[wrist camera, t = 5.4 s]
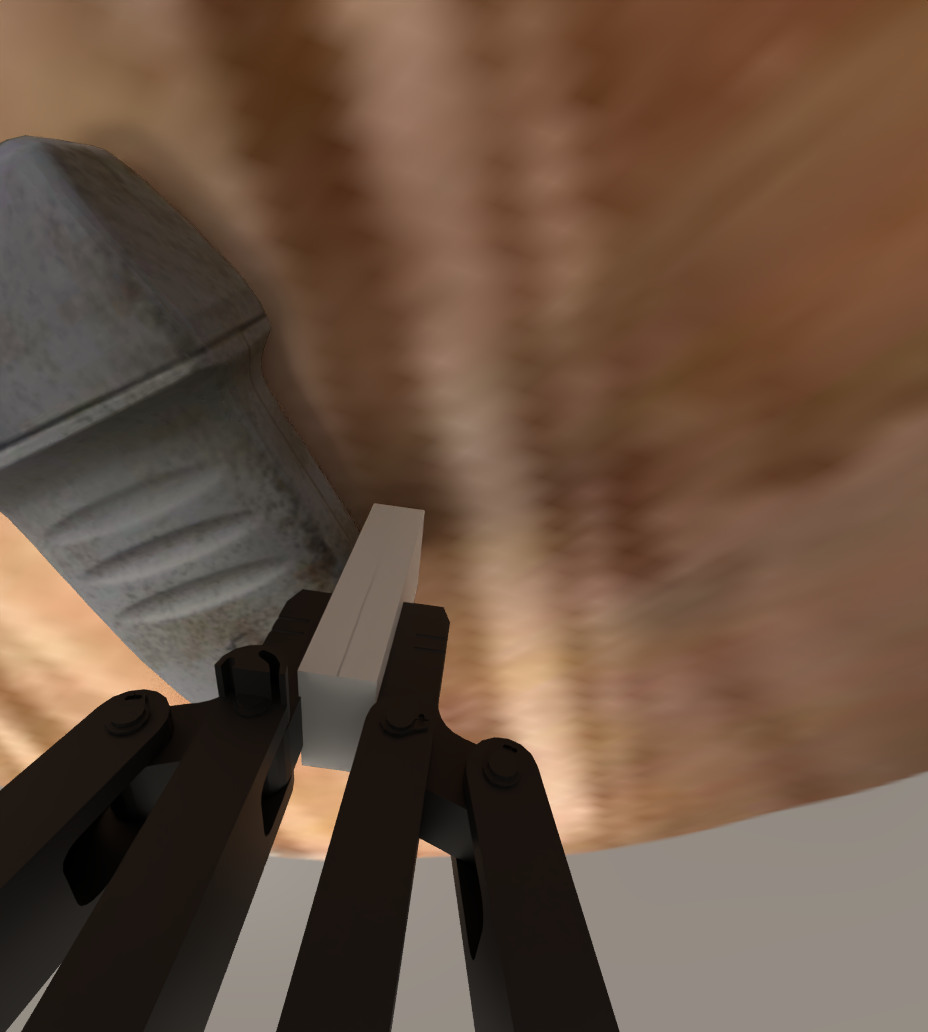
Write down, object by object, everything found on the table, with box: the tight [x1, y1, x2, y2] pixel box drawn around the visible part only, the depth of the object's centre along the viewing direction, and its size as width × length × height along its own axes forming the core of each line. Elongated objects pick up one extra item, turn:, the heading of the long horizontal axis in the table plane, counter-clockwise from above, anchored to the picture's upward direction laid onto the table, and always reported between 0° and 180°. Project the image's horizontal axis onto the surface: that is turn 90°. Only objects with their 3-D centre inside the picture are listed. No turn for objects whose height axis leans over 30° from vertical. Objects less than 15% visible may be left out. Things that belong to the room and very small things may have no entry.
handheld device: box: [0, 135, 360, 703], centre depth 17 cm, size 10×20×5 cm, turn 24°
